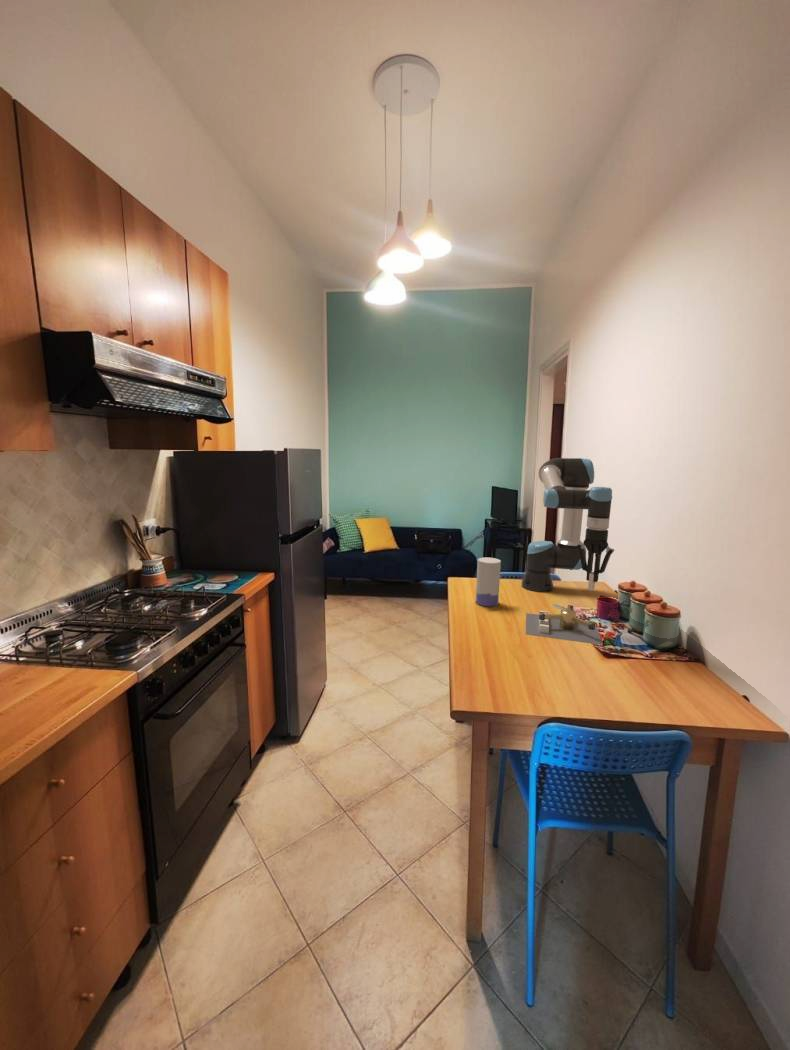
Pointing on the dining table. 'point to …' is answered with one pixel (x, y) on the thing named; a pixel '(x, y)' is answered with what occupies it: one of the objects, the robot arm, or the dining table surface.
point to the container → (488, 581)
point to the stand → (560, 630)
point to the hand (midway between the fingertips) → (591, 589)
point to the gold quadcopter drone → (567, 618)
